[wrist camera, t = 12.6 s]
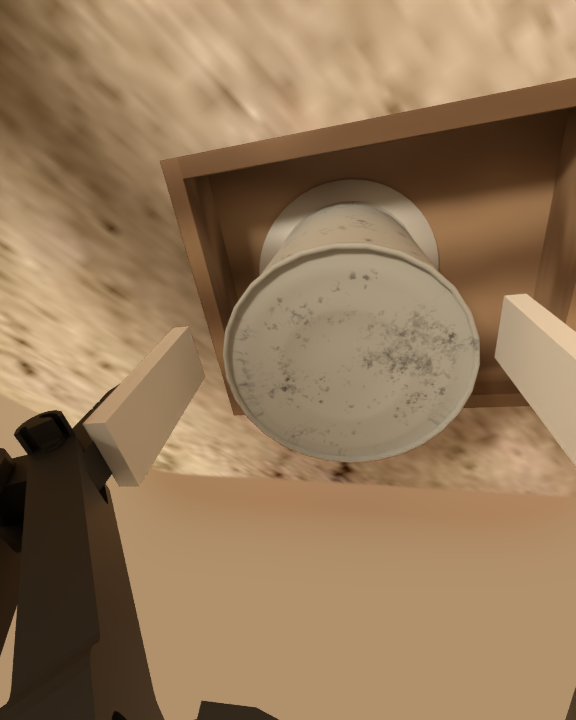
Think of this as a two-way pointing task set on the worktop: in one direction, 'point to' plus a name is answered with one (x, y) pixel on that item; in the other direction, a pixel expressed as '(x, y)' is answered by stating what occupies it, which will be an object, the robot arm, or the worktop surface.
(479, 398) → the box
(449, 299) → the grey speckled cylinder
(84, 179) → the worktop surface
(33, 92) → the worktop surface
